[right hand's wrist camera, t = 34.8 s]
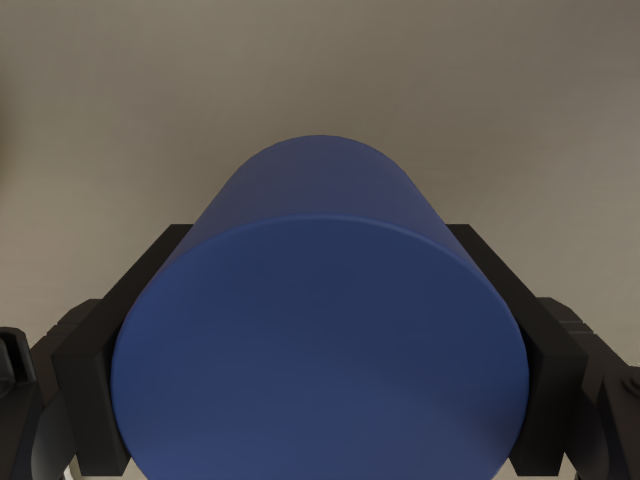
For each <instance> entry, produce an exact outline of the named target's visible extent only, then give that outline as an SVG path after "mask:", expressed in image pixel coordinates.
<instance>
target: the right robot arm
mask: <svg viewBox="0 0 640 480" xmlns="http://www.w3.org/2000/svg"><path fill="white" fill-rule="evenodd" d="M193 225H194V224H171V225H170V226H169V227H168V228H167V229H166V230H165V231H164V232H163V234H162V235H161V236H160V237H159V238H158V239H157V240H156V241H155V242H154V243H153V244H152V245H151V247H150V248H149V249H148V250H147V251H146V252H145V253H144V254H143V255H142V256H141V257H140V258H139V260H138V261H137V262H136V263H135V264H134V265H133V266H132V267H131V268H130V269H129V270H128V271H127V273H126V274H125V275H124V276H123V277H122V278H121V279H120V280H119V281H118V282H117V283H116V284H115V286H114V287H113V288H112V289H111V290H110V291H109V292H108V293H107V294H106V295H105V296H104V298H103V299H89V300H87V301H85V302H83V303H82V304H80V305H78V306H76V307H74V308H73V309H71V310H70V311H68V312H67V313H66V314H65V315H64V316H63V317H62V318H61V319H60V320H59V321H58V322H57V325H54V326H53V327H52V328H51V329H50V330H49V331H48V332H47V335H46V336H43V337H42V338H41V339H40V340H39V341H38V342H37V343H36V344H35V345H34V346H33V347H32V348H31V349H29V346H28V342H27V339H26V335H25V333H24V332H23V331H21V330H20V329H18V328H12V327H0V480H66V479H65V475H64V471H65V470H66V468H67V467H68V465H69V463H70V462H71V460H72V459H73V457H74V455H75V454H76V456H77V460H78V464H79V468H80V471H81V475H82V476H122V475H123V473H124V471H125V469H126V467H127V465H128V463H129V460H130V458H131V455H130V453H129V452H128V450H127V448H126V446H125V444H124V442H123V439H122V437H121V435H120V432H119V430H118V427H117V423H116V420H115V416H114V412H113V408H112V399H111V388H110V378H111V365H112V357H113V353H114V349H115V345H116V340H117V336H118V334H119V332H120V329H121V327H122V325H123V322H124V320H125V318H126V316H127V314H128V312H129V310H130V309H131V307H132V306H133V304H134V303H135V301H136V299H137V298H138V296H139V295H140V293H141V292H142V291H143V289H144V288H145V287H146V285H147V284H148V283H149V282H150V280H151V279H152V278H153V276H154V275H155V274H156V273H157V271H158V270H159V269H160V267H161V266H162V265H163V264H164V262H165V261H166V260H167V258H168V257H169V256H170V255H171V253H172V252H173V251H174V249H175V248H176V247H177V246H178V244H179V243H180V242H181V241H182V239H183V238H184V237H185V235H186V234H187V233H188V232H189V230H190V229H191V228H192V226H193ZM445 225H446V226H447V227H448V229H449V230H450V231H451V232H452V234H453V235H454V236H455V238H456V239H457V240H458V241H459V243H460V244H461V245H462V247H463V248H464V249H465V250H466V252H467V253H468V254H469V256H470V257H471V258H472V259H473V261H474V262H475V263H476V265H477V266H478V267H479V268H480V270H481V271H482V272H483V274H484V275H485V276H486V277H487V279H488V280H489V281H490V283H491V284H492V285H493V287H494V288H495V289H496V290H497V292H498V293H499V294H500V296H501V297H502V298H503V300H504V301H505V302H506V304H507V306H508V308H509V310H510V311H511V313H512V315H513V317H514V319H515V321H516V322H517V324H518V327H519V330H520V333H521V336H522V339H523V342H524V345H525V349H526V355H527V361H528V367H529V398H528V404H527V410H526V416H525V419H524V422H523V425H522V428H521V431H520V434H519V437H518V439H517V441H516V443H515V445H514V447H513V449H512V451H511V453H510V455H509V459H510V461H511V463H512V465H513V467H514V469H515V472H516V474H517V476H558V474H559V470H560V466H561V462H562V459H563V455H564V452H565V454H566V455H567V457H568V458H569V460H570V461H571V463H572V465H573V466H574V468H575V469H576V475H575V479H574V480H640V367H635V366H628V365H627V364H626V363H625V362H624V361H623V360H622V359H621V358H620V357H619V356H618V355H617V354H616V353H615V352H614V351H613V350H612V349H611V348H610V347H609V346H608V345H607V344H606V343H605V342H604V341H603V340H602V339H601V338H600V337H599V336H598V335H597V334H594V333H593V330H591V329H590V328H589V327H588V326H587V325H586V324H585V323H583V321H582V320H581V319H580V318H579V317H578V316H577V315H576V314H575V313H574V312H573V311H572V310H571V309H570V308H569V307H567V306H565V305H563V304H561V303H559V302H558V301H556V300H554V299H552V298H550V297H535V296H534V295H533V294H532V292H531V291H530V290H529V289H528V288H527V287H526V286H525V285H524V284H523V283H522V282H521V281H520V279H519V278H518V277H517V276H516V275H515V274H514V273H513V272H512V271H511V270H510V269H509V267H508V266H507V265H506V264H505V263H504V262H503V261H502V260H501V259H500V258H499V257H498V256H497V254H496V253H495V252H494V251H493V250H492V249H491V248H490V247H489V246H488V245H487V244H486V243H485V241H484V240H483V239H482V238H481V237H480V236H479V235H478V234H477V233H476V232H475V231H474V230H473V228H472V227H471V226H470V225H469V224H445Z"/></svg>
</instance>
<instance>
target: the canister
mask: <svg viewBox="0 0 640 480" xmlns="http://www.w3.org/2000/svg"><path fill="white" fill-rule="evenodd" d="M110 388H111V399H112V408H113V412H114V416H115V420H116V423H117V427H118V430H119V432H120V435H121V437H122V439H123V442H124V444H125V446H126V448H127V450H128V452H129V453H130V455H131V457H132V458H133V460H134V462H135V463H136V465H137V467H138V468H139V469H140V470H141V471H142V473H143V474H144V475H145V476H146V478H147V479H148V480H492V479H493V477H494V476H495V475H496V474H497V473H498V471H499V470H500V468H501V467H502V465H503V464H504V463H505V461H506V460H507V458H508V457H509V455H510V453H511V451H512V449H513V447H514V445H515V443H516V441H517V439H518V437H519V434H520V431H521V428H522V425H523V422H524V419H525V416H526V410H527V404H528V398H529V367H528V361H527V355H526V349H525V345H524V342H523V339H522V336H521V333H520V330H519V327H518V324H517V322H516V321H515V319H514V317H513V315H512V313H511V311H510V310H509V308H508V306H507V304H506V302H505V301H504V300H503V298H502V297H501V296H500V294H499V293H498V292H497V290H496V289H495V288H494V287H493V285H492V284H491V283H490V281H489V280H488V279H487V277H486V276H485V275H484V274H483V272H482V271H481V270H480V268H479V267H478V266H477V265H476V263H475V262H474V261H473V259H472V258H471V257H470V256H469V254H468V253H467V252H466V250H465V249H464V248H463V247H462V245H461V244H460V243H459V241H458V240H457V239H456V238H455V236H454V235H453V234H452V232H451V231H450V230H449V229H448V227H447V226H446V225H445V223H444V222H443V221H442V220H441V218H440V217H439V216H438V214H437V213H436V212H435V211H434V209H433V208H432V207H431V205H430V204H429V203H428V202H427V200H426V199H425V198H424V196H423V195H422V194H421V193H420V191H419V190H418V189H417V187H416V186H415V185H414V184H413V182H412V181H411V180H410V178H409V177H408V176H407V174H406V173H405V172H404V171H403V170H402V169H401V168H400V167H399V166H398V165H397V164H396V163H395V162H394V161H392V160H391V159H390V158H388V157H387V156H385V155H384V154H383V153H381V152H379V151H378V150H376V149H374V148H372V147H370V146H368V145H366V144H363V143H360V142H358V141H355V140H351V139H347V138H343V137H337V136H327V135H314V136H303V137H297V138H292V139H289V140H285V141H282V142H279V143H276V144H274V145H272V146H270V147H268V148H266V149H264V150H262V151H260V152H259V153H257V154H256V155H254V156H253V157H251V158H250V159H249V160H248V161H246V162H245V163H244V164H243V165H242V166H241V167H240V168H239V169H238V170H237V171H236V172H235V173H234V174H233V176H232V177H231V178H230V179H229V180H228V182H227V183H226V184H225V185H224V187H223V188H222V189H221V191H220V192H219V193H218V194H217V196H216V197H215V198H214V199H213V201H212V202H211V203H210V205H209V206H208V207H207V208H206V210H205V211H204V212H203V214H202V215H201V216H200V217H199V219H198V220H197V221H196V223H195V224H194V225H193V226H192V228H191V229H190V230H189V232H188V233H187V234H186V235H185V237H184V238H183V239H182V241H181V242H180V243H179V244H178V246H177V247H176V248H175V249H174V251H173V252H172V253H171V255H170V256H169V257H168V258H167V260H166V261H165V262H164V264H163V265H162V266H161V267H160V269H159V270H158V271H157V273H156V274H155V275H154V276H153V278H152V279H151V280H150V282H149V283H148V284H147V285H146V287H145V288H144V289H143V291H142V292H141V293H140V295H139V296H138V298H137V299H136V301H135V303H134V304H133V306H132V307H131V309H130V310H129V312H128V314H127V316H126V318H125V320H124V322H123V325H122V327H121V329H120V332H119V334H118V336H117V340H116V345H115V349H114V353H113V357H112V365H111V378H110Z"/></svg>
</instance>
